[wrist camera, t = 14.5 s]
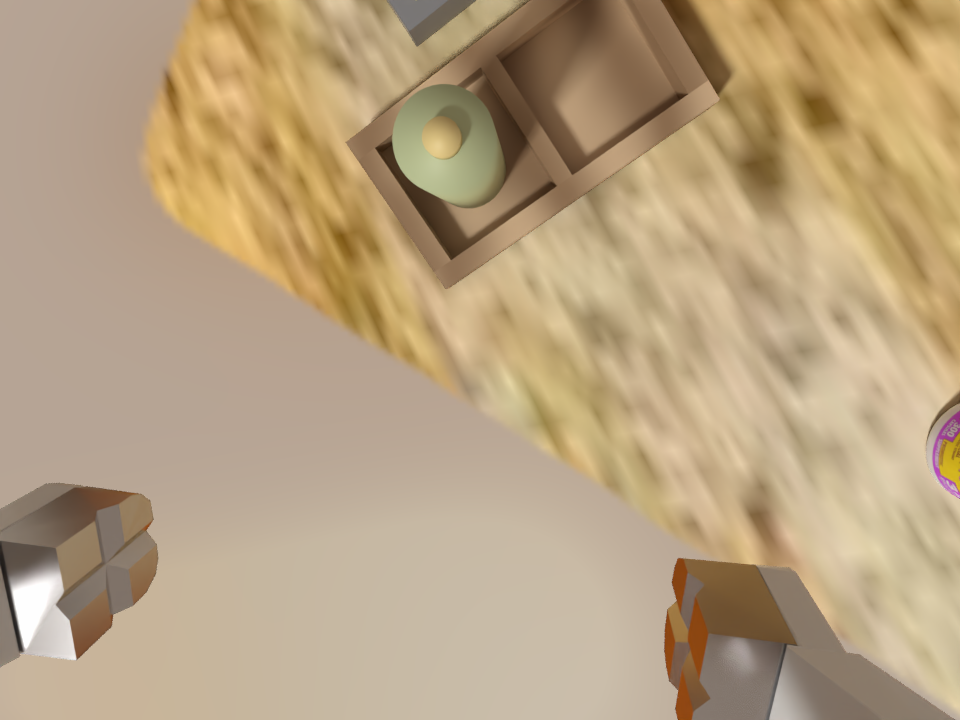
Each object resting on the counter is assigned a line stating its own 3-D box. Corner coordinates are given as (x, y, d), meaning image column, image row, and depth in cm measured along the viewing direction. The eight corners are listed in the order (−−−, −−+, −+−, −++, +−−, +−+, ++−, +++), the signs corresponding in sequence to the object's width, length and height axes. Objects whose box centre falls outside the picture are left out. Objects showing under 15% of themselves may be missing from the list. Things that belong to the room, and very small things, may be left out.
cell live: (478, 114, 34) (454, 55, 23) (520, 179, 34) (515, 150, 24) (417, 160, 35) (367, 123, 24) (459, 223, 35) (428, 213, 25)
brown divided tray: (613, -48, 32) (619, -69, 30) (707, 109, 33) (720, 99, 31) (356, 149, 35) (345, 142, 33) (450, 286, 36) (445, 289, 34)
